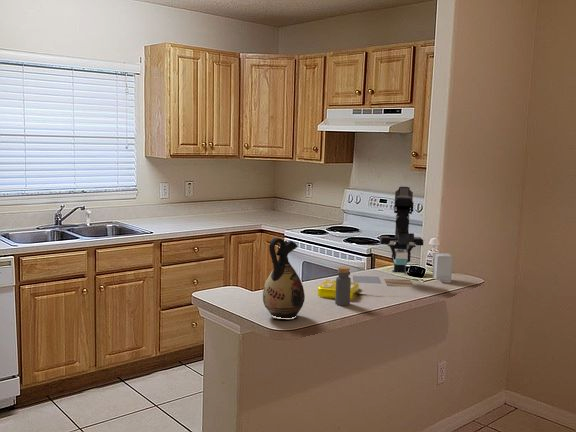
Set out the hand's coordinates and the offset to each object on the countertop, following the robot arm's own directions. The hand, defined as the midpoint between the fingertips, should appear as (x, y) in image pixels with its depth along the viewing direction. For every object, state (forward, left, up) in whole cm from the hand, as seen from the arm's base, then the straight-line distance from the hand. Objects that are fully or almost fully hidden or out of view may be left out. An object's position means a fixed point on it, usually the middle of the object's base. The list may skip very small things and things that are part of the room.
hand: (400, 259), depth 265 cm
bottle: (+31, -27, -12) cm, 43 cm away
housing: (0, 0, -2) cm, 2 cm away
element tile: (+17, -28, -13) cm, 35 cm away
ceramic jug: (+51, -50, -12) cm, 73 cm away
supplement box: (-13, +22, -12) cm, 28 cm away
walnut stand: (0, 0, -12) cm, 12 cm away
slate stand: (-4, -14, -12) cm, 19 cm away
